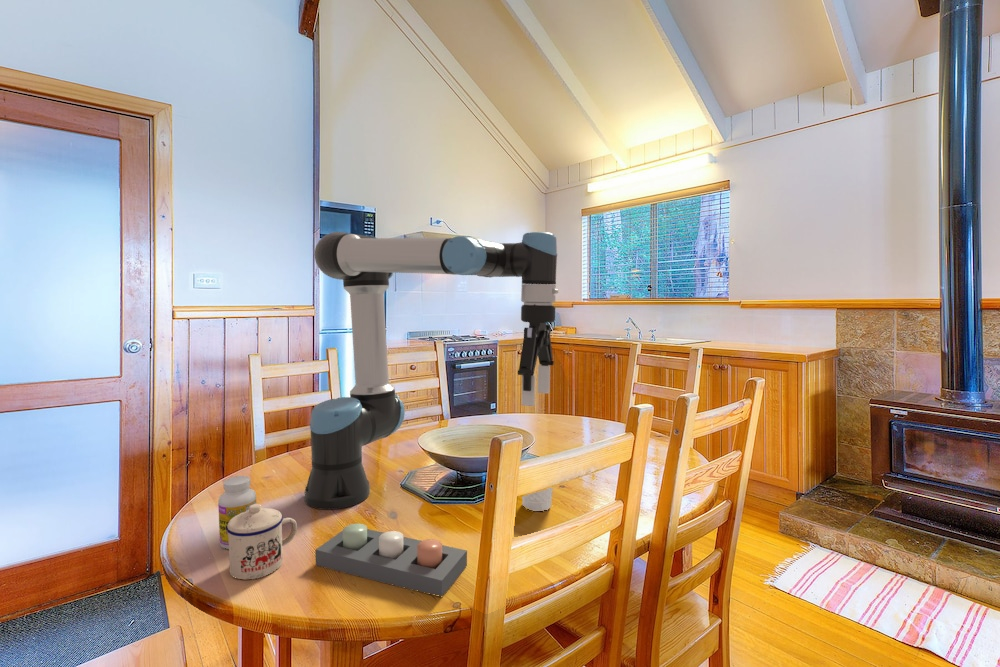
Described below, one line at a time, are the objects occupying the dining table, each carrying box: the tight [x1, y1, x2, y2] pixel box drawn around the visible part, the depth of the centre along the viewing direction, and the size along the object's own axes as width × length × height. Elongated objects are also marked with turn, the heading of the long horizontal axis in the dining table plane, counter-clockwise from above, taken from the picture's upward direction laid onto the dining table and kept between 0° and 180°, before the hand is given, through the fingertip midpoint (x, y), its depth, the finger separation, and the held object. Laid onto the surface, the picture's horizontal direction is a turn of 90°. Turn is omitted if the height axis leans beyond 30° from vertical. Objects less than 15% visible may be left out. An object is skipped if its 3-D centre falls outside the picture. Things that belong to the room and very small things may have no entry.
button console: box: [314, 528, 468, 597], centre depth 89 cm, size 26×10×3 cm, turn 70°
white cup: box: [521, 487, 554, 512], centre depth 115 cm, size 8×8×10 cm
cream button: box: [379, 530, 404, 560], centre depth 89 cm, size 4×4×4 cm
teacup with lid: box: [227, 503, 298, 580], centre depth 89 cm, size 12×9×12 cm
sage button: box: [342, 523, 368, 551], centre depth 92 cm, size 4×4×4 cm
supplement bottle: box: [217, 475, 257, 550], centre depth 97 cm, size 7×7×13 cm
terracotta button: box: [417, 538, 443, 569], centre depth 86 cm, size 4×4×4 cm
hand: (536, 399), depth 109 cm, fingers open, 13 cm apart
